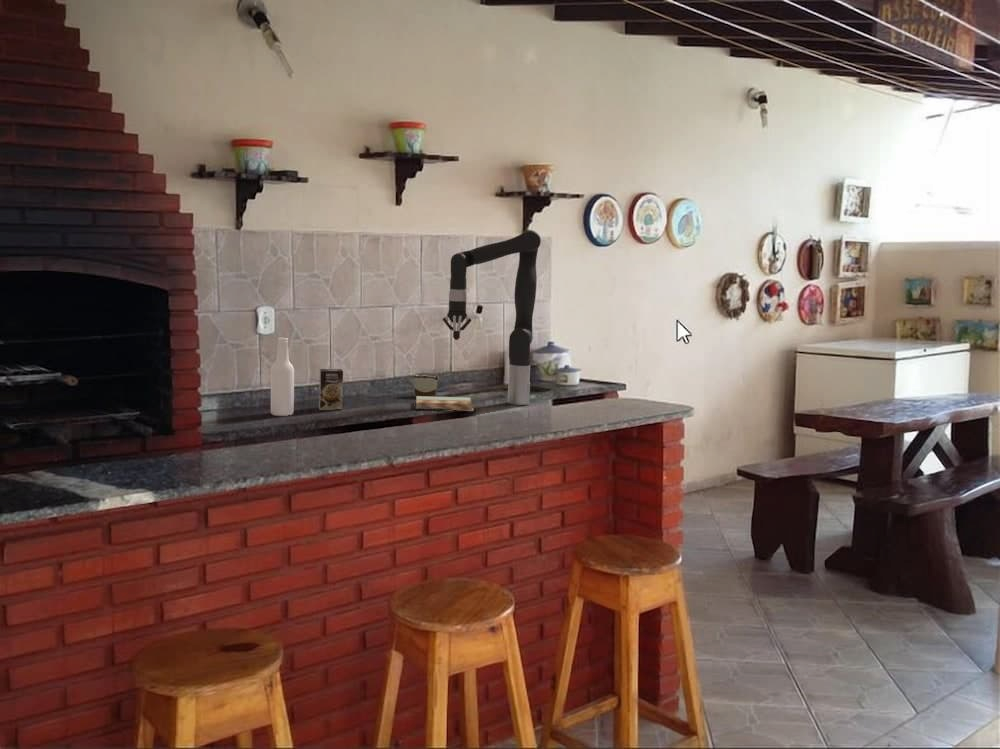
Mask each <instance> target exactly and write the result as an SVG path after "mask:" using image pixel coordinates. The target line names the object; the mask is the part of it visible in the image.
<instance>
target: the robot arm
mask: <svg viewBox="0 0 1000 749" xmlns="http://www.w3.org/2000/svg"><path fill="white" fill-rule="evenodd" d="M541 241H542V238H541V237H540V234H539V233H538V232H537V231H535V230H532V229H526V230H524V231H523V232H522V233H521V234H519V235H517V236H514V237H513V238H509V239H506V240H503V241H498V242H494V243H493V242H492V243H490V244H489V243H488V244H485V245H482V246H479V247H475V248H473V249H470V250H465V251H460V252H457V253H455V254H453V255H452V257H451V258H450V280H449V281H450V282H449V293H448V294H449V295H448V312H447V315H446V316H445V317H443V318H442V320H443V322H444V324H445V325H446V326H447V328H448V329H449V330H451V331H453V332H452V338H453V339H454V341H458V340H459V339H460V338H461V331H464V330H465V329H466V328H467V327H468V326H469V324H470V323H471V322H472V319H471V318H470V317H469V316H468V314H467V300H468V299H467V268H469V267H472V266H474V265H481V264H484V263H488V262H491V261H495V260H497V259H500V258H503V257H507V256H509V255H510V256H511V255H515V254H518V256H519V260H518V261H519V262H518V266H517V272H516V276H515V277H516V278H515V286H514V308H515V309H514V310H515V321H514V326H513V327H514V328H513V330H512V332H511V333H510V334H509V340H508V359H509V360H508V364H509V365H508V379H507V380H508V383H507V404H510V405H514V406H515V405H516V406H517V405H518V406H523V405H530V394H531V393H530V392H531V382H530V380H531V379H530V378H531V377H530V376H531V344H532V342H533V339H534V338H533V337H534V336H533V335H534V334H533V316H534V315H533V314H534V309H535V304H536V297H537V296H536V295H537V283H538V281H537V280H538V278H537V259H538V258H537V257H538V251H539V248H540V246H541ZM449 320H450V322H451V323H452V325H451V324H450V322H448V321H449ZM464 321H465V322H464ZM463 322H464V324H463V325H462V323H463ZM461 325H462V326H461Z"/></svg>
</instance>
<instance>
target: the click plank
mask: <svg viewBox="0 0 1000 749" xmlns="http://www.w3.org/2000/svg"><path fill="white" fill-rule="evenodd" d="M415 399H416V400H415V401H416V404H417V400H444V401H471V402H472V399H471V397H469V396H468V397H461V396H457V397H456V396H436V397H430V396H416V398H415Z"/></svg>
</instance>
